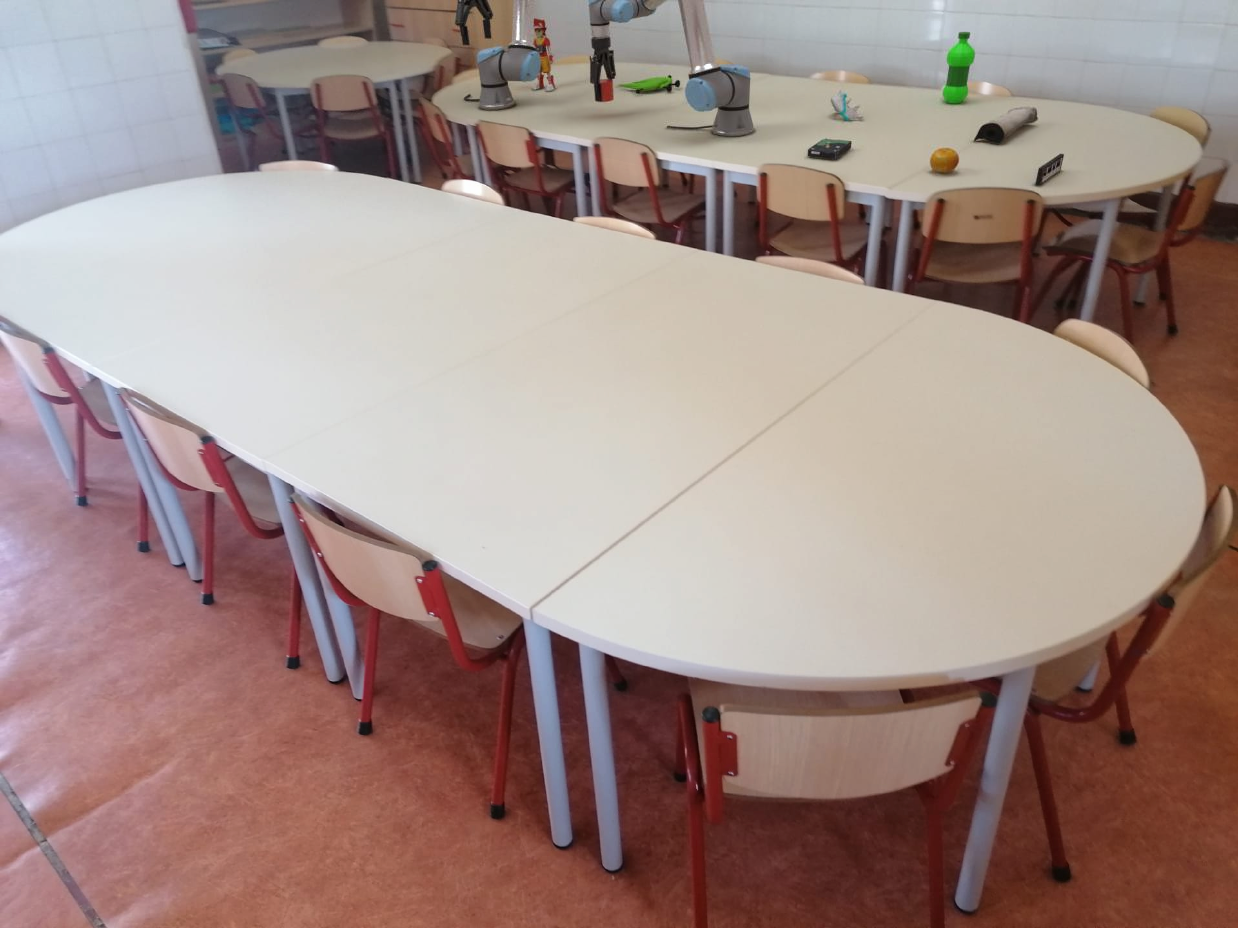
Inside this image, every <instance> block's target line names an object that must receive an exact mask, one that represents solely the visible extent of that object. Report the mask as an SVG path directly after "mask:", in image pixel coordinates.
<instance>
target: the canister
mask: <svg viewBox="0 0 1238 928" xmlns="http://www.w3.org/2000/svg"><path fill="white" fill-rule="evenodd" d="M613 80H614V79H613ZM613 80H611V79H608V78H600V83H599V84H601V94H602V101H596V102H598V103H606V102H607V103H608V102H612V101H614V99H615V98H614V81H613Z"/></svg>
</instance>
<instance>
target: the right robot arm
mask: <svg viewBox="0 0 1238 928" xmlns="http://www.w3.org/2000/svg"><path fill="white" fill-rule="evenodd" d="M666 2H668V0H588V12H589V24H590V36H591V39H590V41H591V42H590V43H591V48H592V49H593V50H594V51H593V54H592V55H590V56H589V63H590V64H589V83H590V84H592V85H593V90H594V101H595V102H597V101H602V94H601V84H599V83H600V79H601V75H602V68H603V69H604V72H605V75H606V79H611V80H615V79H616V77H617V73H616V65H615V57H614V56H615V55H614V54H615V51H614V49H610V48H611V47H612V46H611V45H612V44H611V43H612V42H611V25H610V24H611V23H612V22H613V23H619V24H622V23H623V24H626V23H629V22H630V21H631V20H634V19H638V18H644V17H649V16H652V15H654V14H655V13H656V11H657V9H658V8H659V7H660V6H662V5H663V4H664V3H666ZM677 2H678V6H679V13H680V18H681V22H682V28H683V33H684V38H685V44H686V48H687V53H688V59H689V63H690V70H689V72H688V73H687V75H688V81H687V82H686V84H685V88H684V97H685V99H686V102H687V103H688V105H689V106H690V107H691V108H692V109H693V110H694V111H697V112H699V113H703V112H710V111H713V110H715V109H717V111H716V114H715V118H714V120H713V124H710V125H703V126H702V125H701V126H675V125H666V128H667V129H674V130H675V129H677V130H701V129H703V130H704V129H709V128H712V133H713V134H715V135H717V136H721V137H741V136H746V135H750V134H752V133H754V122H753V118H752V115H751V111H750V99H751V98H750V97H751V96H750V94H751V69H750V68H749V67H748V66H747V65H746V66H745V65H741V64H740V65H739V64H719V63H717V61H716V60H715V59H716V58H715V53H714V49H713V42H712V37H711V33H710V27H709V21H708V17H707V11H706V6H705V1H704V0H677ZM610 22H611V23H610Z"/></svg>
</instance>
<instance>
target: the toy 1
mask: <svg viewBox="0 0 1238 928" xmlns="http://www.w3.org/2000/svg"><path fill="white" fill-rule="evenodd" d="M547 29H548V27H547V26H546V21H545V19H539V18H535V17H534V24H533V31H534V34H535V36H536V37H535V36H534V37H533V45H534V46H535V47H536V52H538V53H539V55H540V60H541V67H540V72H539V74H538V76H537V78H536V79H537V81H538V82H537V83H534V84H533V86H532V90H539V89H543V88H545V92H550V91H554V90H555V88H556V86H555V82H554V81H555V80H554V75H551V71H552V66H551V65H553V64H554V59H553V58H554V56H555V54H554V53H553V52H552V49H551V46H552V45H551V40H550V39H549V37H548V36H547V34H546V32H547ZM545 74H546V75H547V76H546V80H547V82H548V85H546V87H545V84H544V83H545V82H544V79H545V78H544V77H545Z"/></svg>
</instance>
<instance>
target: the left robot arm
mask: <svg viewBox="0 0 1238 928" xmlns="http://www.w3.org/2000/svg"><path fill="white" fill-rule="evenodd" d="M535 1H536V0H513V9H512V32H511V33H512V35H511V41H510V43H509V44H508V45H507V50H506V49H505V48H504V46H500V45H499V46H493V47H488V48H485V49H481V50H480V51H478V53H477V56H476V57H477V58H476V59H477V67H478V76H479V82H480V95H479V98H469V97H471V93H469V94H467V95H465V96H464V97H463V99H464V101H468V102H478V106H479V109H480V110H484V111H500V110H506V109H510V108H512V107H514V106H515V99H514V97H513V95H512V92H511V89H510V86H509V82H523V83H527V82H533V81H535V80H536V79H537V76H538V75H539V72H540V67H541V60H540V55H539V53H538V52H536V47H535V46H534V45H533V43H534V28H533V24H534V18H535V4H536V3H535ZM473 8H476V9H477V10H478V13H480V16H482V18H483V19H482V26H483V34H484V39H487V40H491V39H493V38H492V31H491V20H493V17H494V13H493V9H492V8H491V5H490V3H489V1H488V0H457V5H456V11H455V12H456V13H455V20H454V24H455V26H457V27H459V32H460V36H461V41H462V46H470V44H471V43H470V37H469V36H470V35H469V29H468V25H467V21H468V18H469V16H470V12H471V10H472V9H473Z"/></svg>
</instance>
